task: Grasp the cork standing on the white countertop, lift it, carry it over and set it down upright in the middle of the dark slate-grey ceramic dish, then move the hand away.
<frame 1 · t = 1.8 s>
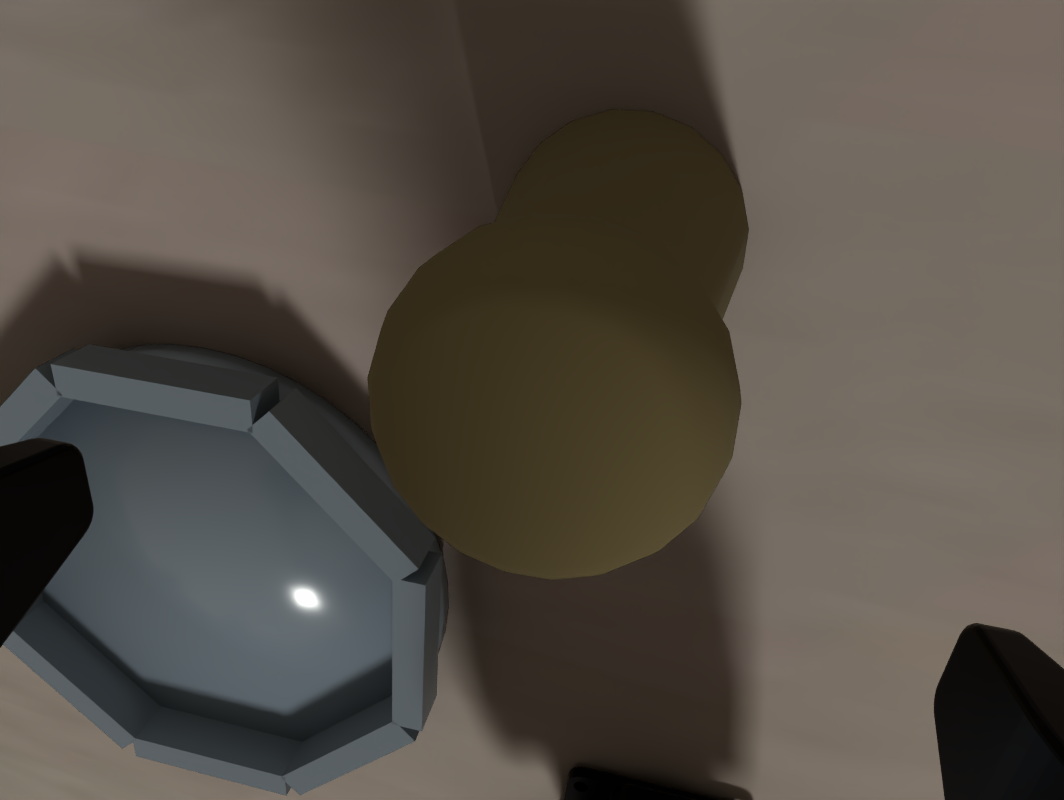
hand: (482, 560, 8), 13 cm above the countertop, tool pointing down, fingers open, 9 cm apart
dish: (227, 559, 27), on the countertop
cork: (622, 236, 19), on the countertop
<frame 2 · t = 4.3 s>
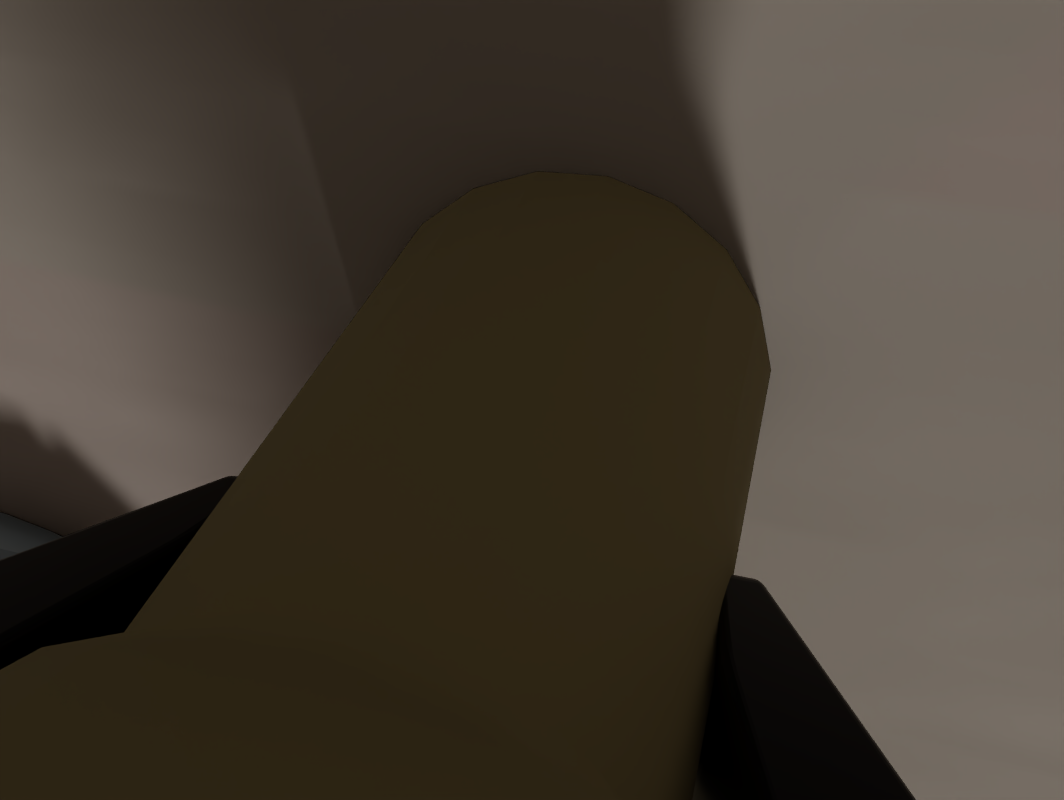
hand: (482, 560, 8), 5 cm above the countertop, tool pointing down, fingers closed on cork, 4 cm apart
dish: (39, 764, 19), on the countertop
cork: (564, 370, 12), on the countertop, touching gripper
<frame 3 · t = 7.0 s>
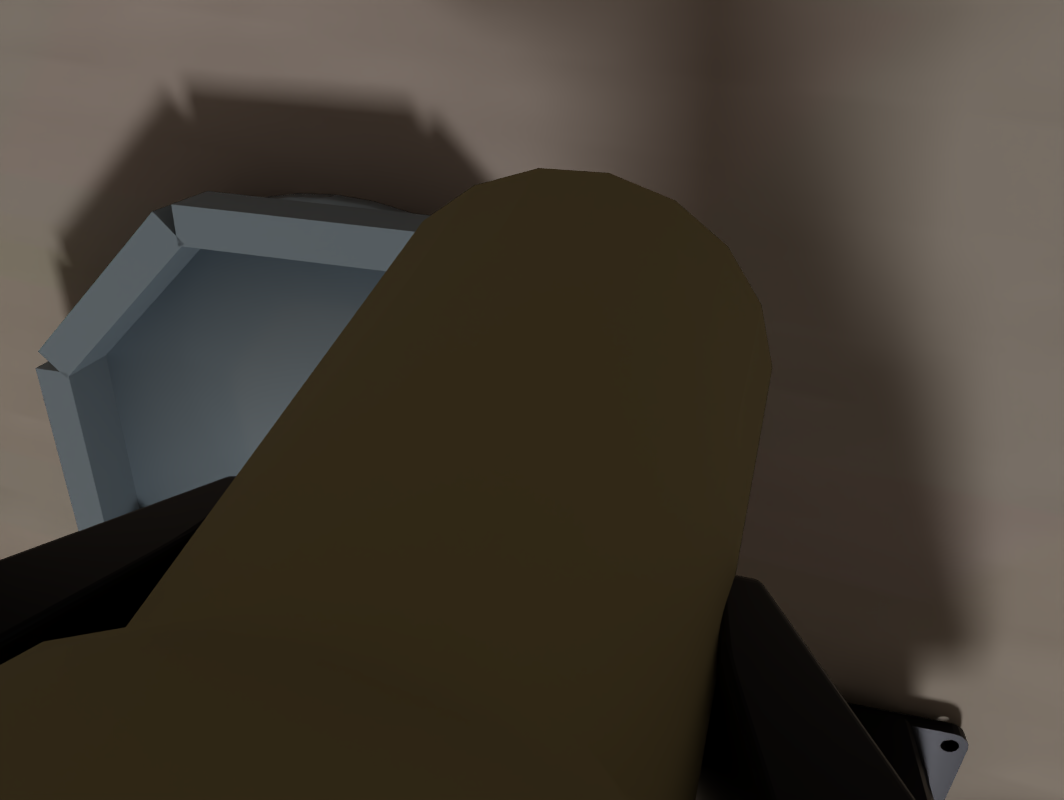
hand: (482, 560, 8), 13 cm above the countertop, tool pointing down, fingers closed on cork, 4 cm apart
dish: (352, 459, 24), on the countertop
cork: (565, 368, 12), point 8 cm above the countertop, touching gripper
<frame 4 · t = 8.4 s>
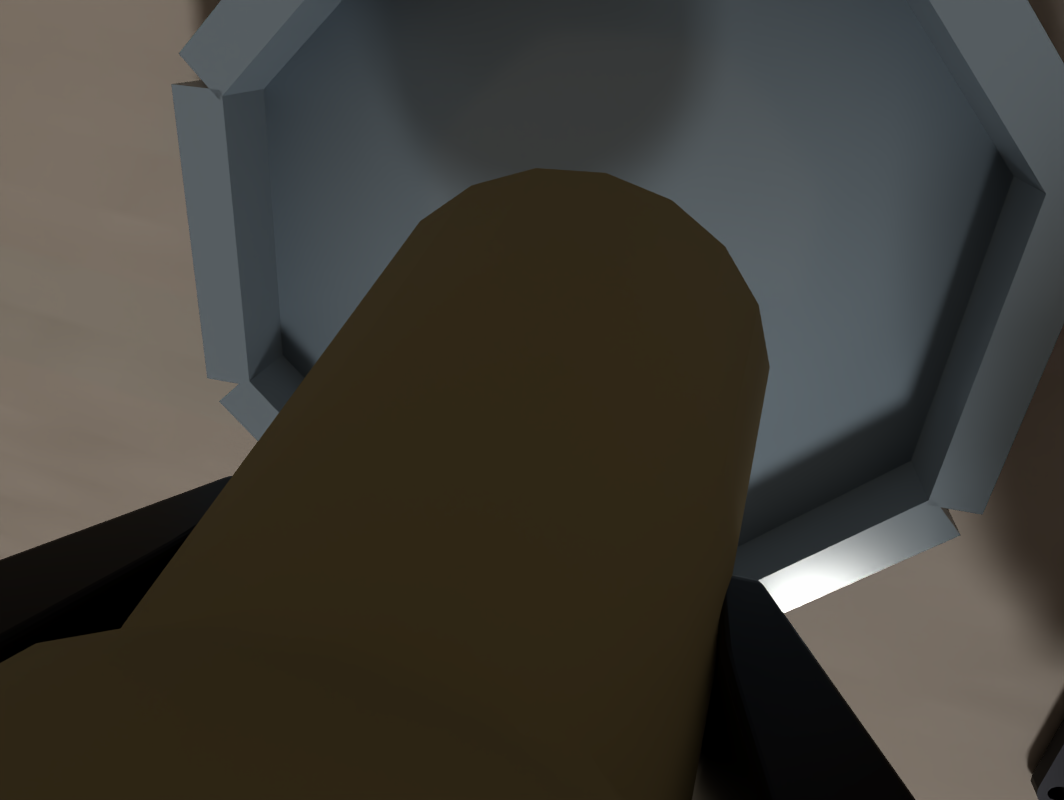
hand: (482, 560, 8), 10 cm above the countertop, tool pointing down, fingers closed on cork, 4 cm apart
dish: (600, 264, 17), on the countertop
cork: (562, 368, 12), point 5 cm above the countertop, touching gripper
when the fingers open (6 cm above the countertop, at t = 9.8 s): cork stays where it is, resting on dish.
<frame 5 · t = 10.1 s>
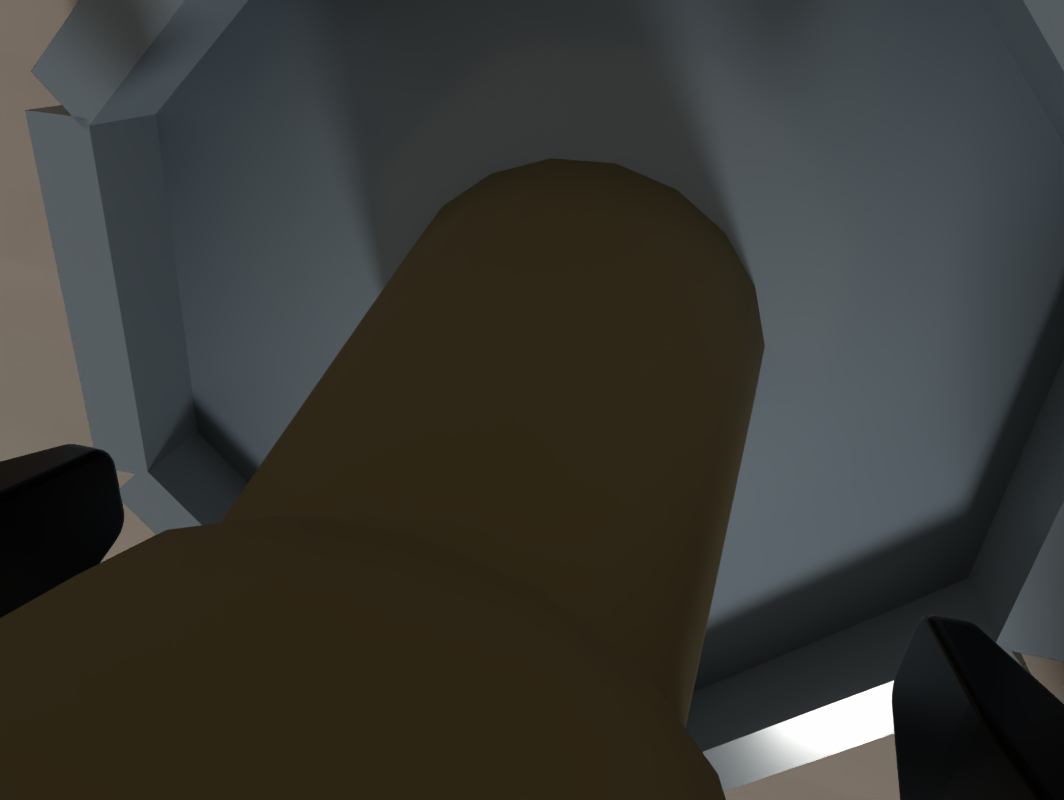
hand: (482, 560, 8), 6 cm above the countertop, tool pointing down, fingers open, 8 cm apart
dish: (580, 329, 13), on the countertop
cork: (572, 346, 13), point 1 cm above the countertop, touching dish
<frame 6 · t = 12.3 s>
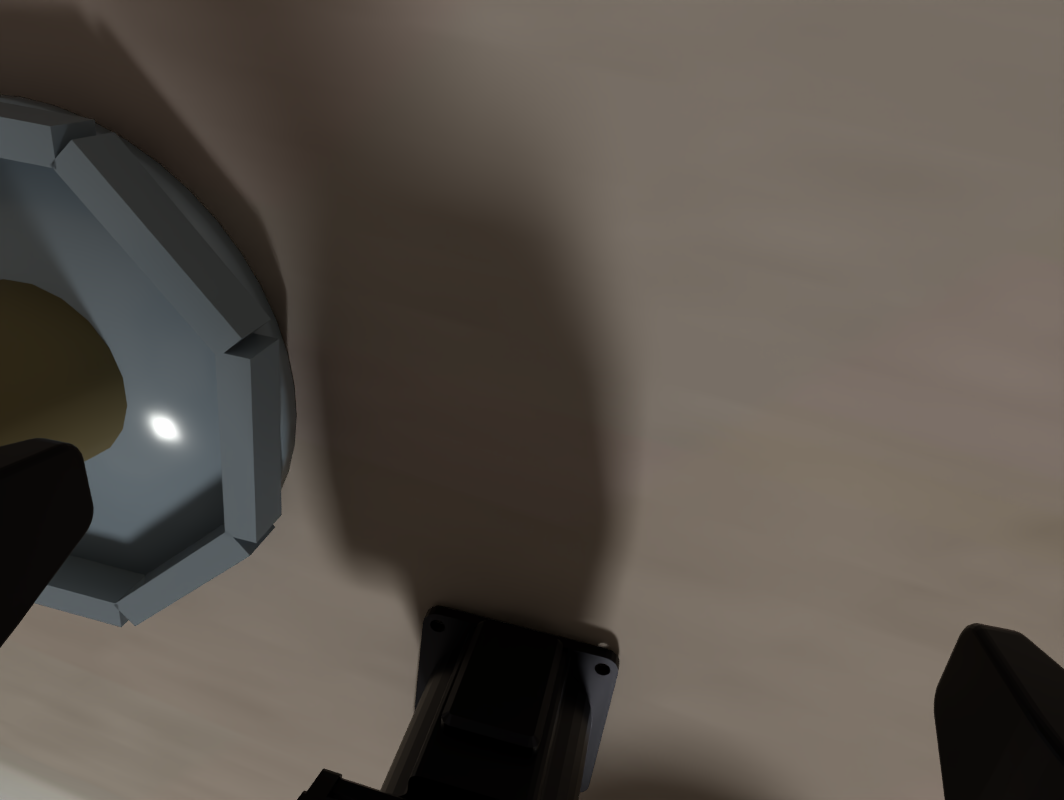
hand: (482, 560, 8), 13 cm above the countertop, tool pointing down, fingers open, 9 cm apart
dish: (62, 362, 25), on the countertop
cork: (42, 372, 24), point 1 cm above the countertop, touching dish
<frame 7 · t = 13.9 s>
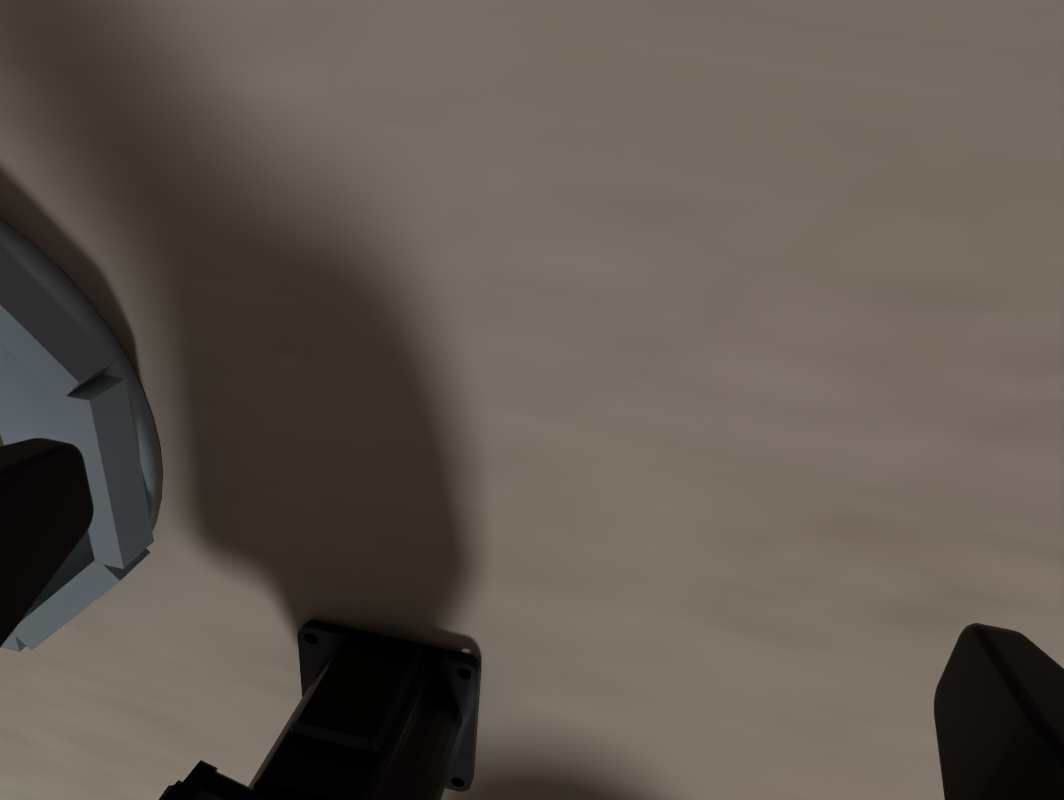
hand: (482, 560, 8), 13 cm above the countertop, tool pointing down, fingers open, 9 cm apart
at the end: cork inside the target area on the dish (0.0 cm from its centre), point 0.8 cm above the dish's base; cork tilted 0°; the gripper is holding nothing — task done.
